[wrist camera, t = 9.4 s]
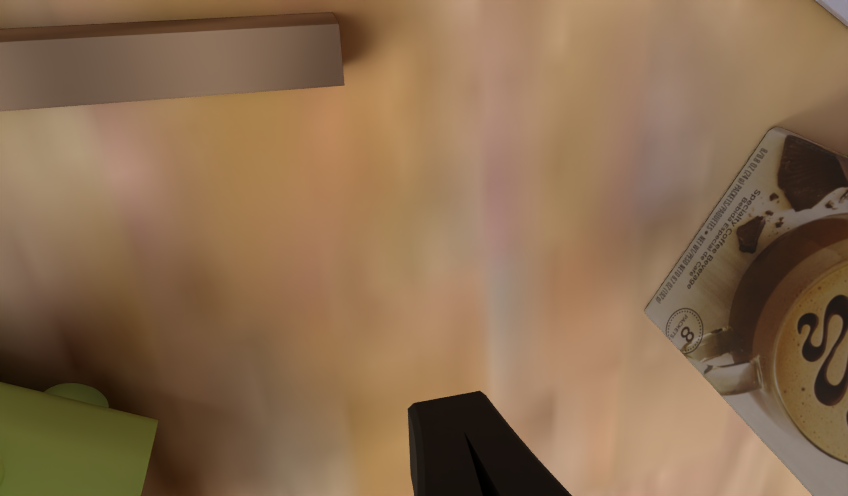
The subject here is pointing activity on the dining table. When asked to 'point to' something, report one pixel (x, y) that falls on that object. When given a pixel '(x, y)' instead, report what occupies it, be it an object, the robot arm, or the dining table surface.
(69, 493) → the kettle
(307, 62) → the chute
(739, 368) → the coffee box
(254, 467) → the dining table surface
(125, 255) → the dining table surface
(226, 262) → the dining table surface
